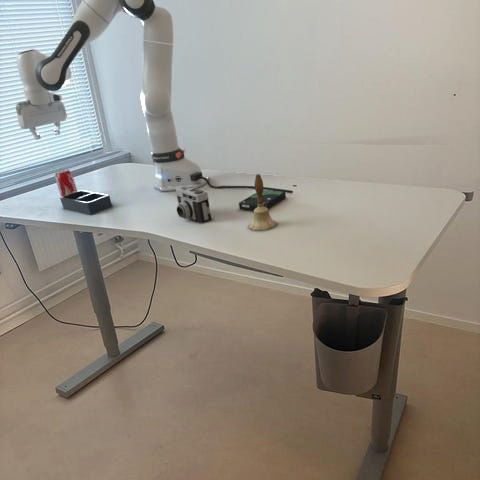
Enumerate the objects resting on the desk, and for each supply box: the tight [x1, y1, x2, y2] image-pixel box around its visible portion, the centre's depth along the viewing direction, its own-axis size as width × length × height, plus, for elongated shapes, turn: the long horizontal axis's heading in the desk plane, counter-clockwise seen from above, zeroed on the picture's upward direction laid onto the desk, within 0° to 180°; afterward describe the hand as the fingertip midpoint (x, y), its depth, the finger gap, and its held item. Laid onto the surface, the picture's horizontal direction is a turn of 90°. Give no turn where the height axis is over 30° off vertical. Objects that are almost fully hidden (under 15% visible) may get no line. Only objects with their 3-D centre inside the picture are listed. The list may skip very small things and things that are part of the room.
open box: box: [59, 189, 113, 216], centre depth 194 cm, size 19×10×5 cm, turn 49°
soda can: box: [54, 168, 78, 197], centre depth 206 cm, size 7×7×12 cm
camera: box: [175, 186, 212, 224], centre depth 165 cm, size 14×8×10 cm, turn 37°
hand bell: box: [249, 173, 277, 232], centre depth 150 cm, size 8×8×16 cm
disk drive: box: [238, 189, 287, 212], centre depth 171 cm, size 10×3×15 cm
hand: (47, 137), depth 193 cm, fingers open, 8 cm apart
